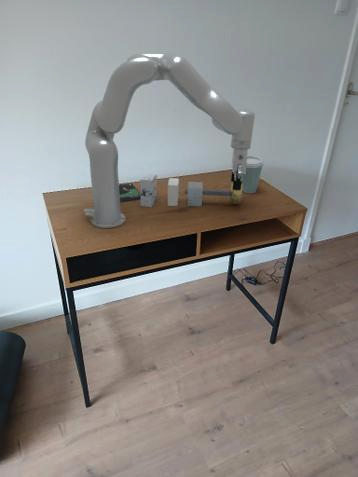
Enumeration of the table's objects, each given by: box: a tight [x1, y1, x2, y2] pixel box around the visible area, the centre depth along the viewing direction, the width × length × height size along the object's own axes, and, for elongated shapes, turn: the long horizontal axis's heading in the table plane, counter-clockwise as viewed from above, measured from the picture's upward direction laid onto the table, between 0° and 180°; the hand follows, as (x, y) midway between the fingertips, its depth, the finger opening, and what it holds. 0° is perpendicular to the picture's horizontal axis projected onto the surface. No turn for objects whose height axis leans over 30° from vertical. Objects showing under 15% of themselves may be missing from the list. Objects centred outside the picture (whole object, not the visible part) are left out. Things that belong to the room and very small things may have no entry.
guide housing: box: [186, 181, 204, 208], centre depth 152 cm, size 6×7×8 cm
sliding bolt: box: [184, 181, 243, 204], centre depth 150 cm, size 23×5×8 cm, turn 86°
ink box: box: [139, 172, 158, 208], centre depth 150 cm, size 9×5×12 cm, turn 168°
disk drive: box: [119, 183, 141, 203], centre depth 159 cm, size 10×3×15 cm
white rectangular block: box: [167, 177, 180, 207], centre depth 152 cm, size 4×8×9 cm, turn 176°
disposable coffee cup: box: [242, 155, 264, 194], centre depth 163 cm, size 11×11×15 cm
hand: (235, 185), depth 149 cm, fingers open, 9 cm apart
